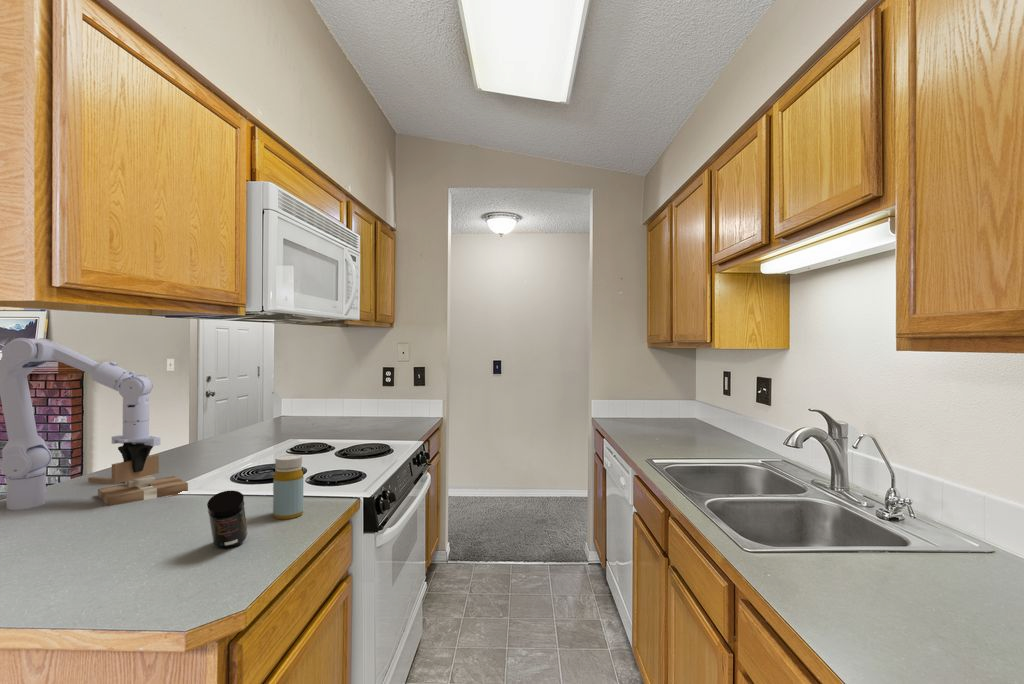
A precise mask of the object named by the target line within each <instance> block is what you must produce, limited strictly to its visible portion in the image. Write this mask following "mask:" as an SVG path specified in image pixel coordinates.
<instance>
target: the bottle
mask: <svg viewBox="0 0 1024 684" xmlns="http://www.w3.org/2000/svg"><path fill="white" fill-rule="evenodd" d="M274 461H275V463H274V464H275V465H274V466H275V469H274V470H275V472H274V475H273V480H272V481H273V488H272V491H273V494H272V497H273V499H272V504H273V505H272V516H273V517H274V519H277V520H292V519H296V518H299V517H300V516H302V515H303V513H304V472H303V469H302V468H303V466H302V465H303V456H302V455H301V454H285V455H284V454H283V455H279V456H276V457H275V460H274Z"/></svg>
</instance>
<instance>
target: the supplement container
mask: <svg viewBox="0 0 1024 684" xmlns="http://www.w3.org/2000/svg"><path fill="white" fill-rule="evenodd" d="M207 514H208V519H209V524H210V525H209V527H210V530H211V537H212V544H213V545H214V546H215V547H216V548H217V549H221V550H222V549H223V550H224V549H225V550H227V549H232V548H235V547H238V546H240V545H241V544H242V543H243V542H244V541H245V540H246V539H247V536H248V526H247V517H246V508H245V498H244V495H243V493H241V492H240V491H238V490H224V491H221V492H219V493H217V494H215V495H213V496H211V497H210V498H209V500H208V501H207Z"/></svg>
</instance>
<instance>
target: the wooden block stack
mask: <svg viewBox="0 0 1024 684" xmlns="http://www.w3.org/2000/svg"><path fill="white" fill-rule="evenodd" d="M182 491H188V492H189V483H188V482H187V481H185V480H182V479H181V478H178V477H177V476H174V475H173V476H166V477H161V478H156V477H155V476H153V475H148V476H144V477H141V478H137V479H133V480H129V481H125V482H124V484H120V485H118V484H117V485H113V486H107V487H102V488H98V489H97V496H98V498H100V499H101V500H102V501H103V502H104V503H105V504H106V505H108V507H111V506H118V505H124V504H130V503H134V502H139V501H140V502H141V501H145V500H151V499H157V498H162V497H164V499H165V498H171V497H177V496H181V495H184V494H178V493H180V492H182Z"/></svg>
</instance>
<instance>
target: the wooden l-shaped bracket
mask: <svg viewBox="0 0 1024 684" xmlns="http://www.w3.org/2000/svg"><path fill="white" fill-rule="evenodd" d="M159 458H160V456H159V454H153V455H149V456H147V458H146V461H145V464H144V468H143V471H140V472H134V471H133V467H132V460H129V461H125V462H124V461H121V462H116V463H111V478H110V477H109V478H108V477H98V476H97V477H96V476H90V477H88V478H87V479H88V480H87V481H88V483H98V484H99V483H100V484H110V485H118V484H120V483H125V481H129V480H133V479H137V478H141V477H144V476H148V475H151V476H153V475H155V474H159V468H160V466H159V463H160V462H159V460H160V459H159Z"/></svg>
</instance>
